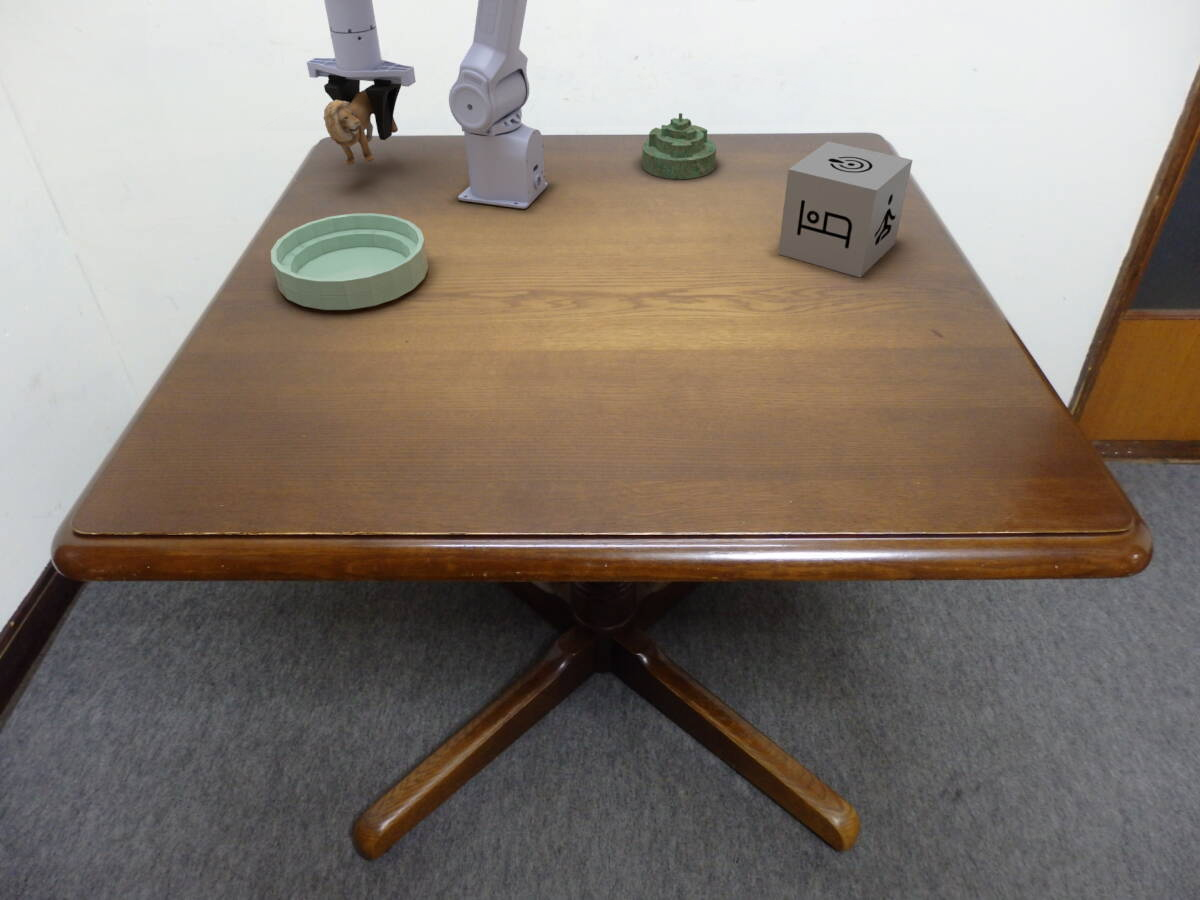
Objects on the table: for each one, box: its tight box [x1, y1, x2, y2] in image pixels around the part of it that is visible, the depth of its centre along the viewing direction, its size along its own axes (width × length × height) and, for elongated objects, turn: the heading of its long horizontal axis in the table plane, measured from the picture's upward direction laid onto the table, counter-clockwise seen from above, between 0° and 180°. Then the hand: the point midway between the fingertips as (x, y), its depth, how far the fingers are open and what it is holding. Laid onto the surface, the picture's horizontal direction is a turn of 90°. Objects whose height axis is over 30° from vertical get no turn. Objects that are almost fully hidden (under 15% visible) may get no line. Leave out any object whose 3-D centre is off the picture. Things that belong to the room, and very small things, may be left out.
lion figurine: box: [322, 89, 399, 166], centre depth 119 cm, size 15×5×9 cm, turn 174°
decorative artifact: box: [641, 112, 717, 180], centre depth 123 cm, size 10×7×10 cm
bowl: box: [270, 212, 429, 311], centre depth 100 cm, size 16×16×4 cm
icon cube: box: [777, 141, 913, 278], centre depth 102 cm, size 10×10×10 cm
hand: (372, 135), depth 122 cm, fingers closed on lion figurine, 4 cm apart
